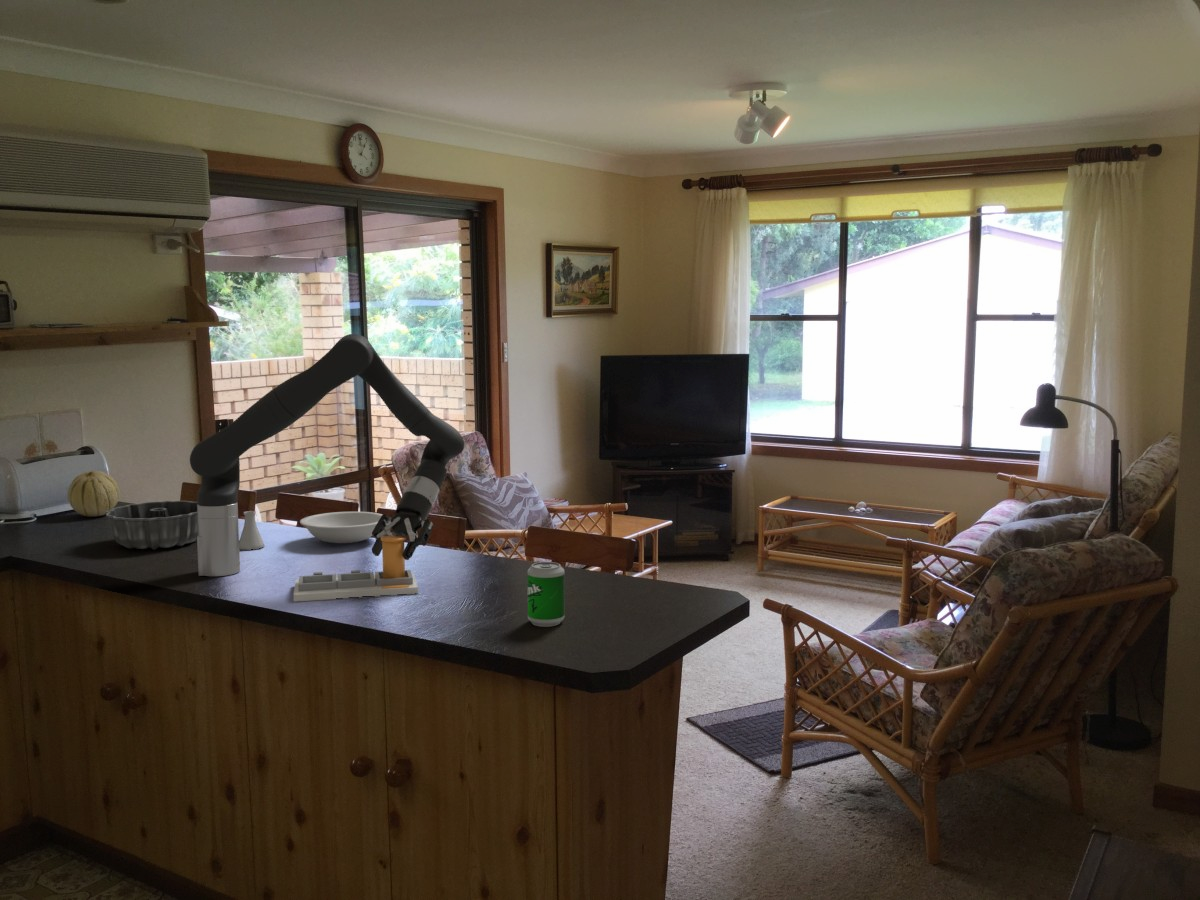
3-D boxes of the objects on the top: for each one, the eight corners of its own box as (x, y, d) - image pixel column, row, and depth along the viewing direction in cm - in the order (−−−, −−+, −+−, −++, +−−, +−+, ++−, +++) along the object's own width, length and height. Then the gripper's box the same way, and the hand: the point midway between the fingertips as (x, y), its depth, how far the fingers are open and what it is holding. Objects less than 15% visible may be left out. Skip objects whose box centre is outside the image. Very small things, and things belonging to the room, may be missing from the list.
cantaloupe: (113, 510, 326) (111, 465, 325) (126, 517, 315) (123, 470, 314) (63, 515, 317) (61, 469, 315) (74, 522, 306) (72, 474, 304)
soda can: (564, 617, 206) (564, 560, 204) (564, 627, 198) (564, 569, 197) (528, 617, 206) (528, 560, 204) (526, 628, 198) (526, 569, 197)
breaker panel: (293, 601, 217) (293, 587, 216) (296, 585, 230) (295, 572, 230) (418, 593, 224) (418, 580, 223) (413, 578, 237) (413, 566, 237)
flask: (235, 551, 267) (234, 515, 265) (238, 545, 273) (236, 510, 272) (264, 550, 268) (262, 513, 267) (265, 544, 275) (264, 509, 274)
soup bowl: (381, 531, 295) (380, 509, 294) (394, 547, 273) (394, 523, 272) (297, 536, 286) (296, 514, 285) (304, 554, 264) (303, 529, 263)
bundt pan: (176, 556, 261) (174, 518, 260) (85, 552, 265) (83, 515, 264) (228, 536, 287) (227, 502, 286) (145, 532, 291) (143, 499, 290)
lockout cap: (382, 583, 226) (381, 540, 224) (381, 577, 231) (380, 535, 230) (407, 582, 227) (406, 539, 226) (405, 576, 232) (404, 534, 231)
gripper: (386, 488, 236) (357, 544, 227) (436, 492, 230) (408, 550, 221) (400, 506, 242) (372, 562, 233) (449, 511, 236) (422, 568, 227)
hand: (389, 556), depth 227 cm, fingers open, 8 cm apart
